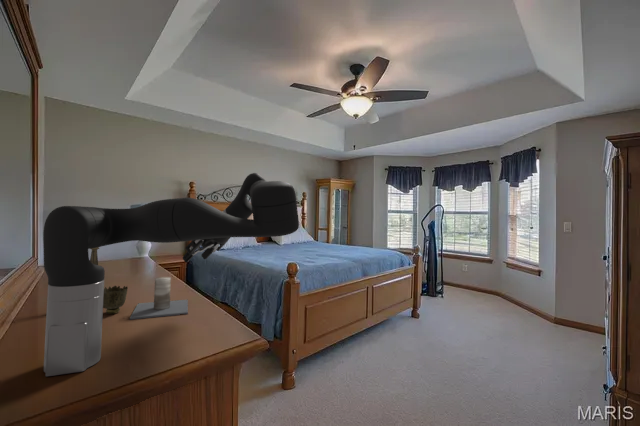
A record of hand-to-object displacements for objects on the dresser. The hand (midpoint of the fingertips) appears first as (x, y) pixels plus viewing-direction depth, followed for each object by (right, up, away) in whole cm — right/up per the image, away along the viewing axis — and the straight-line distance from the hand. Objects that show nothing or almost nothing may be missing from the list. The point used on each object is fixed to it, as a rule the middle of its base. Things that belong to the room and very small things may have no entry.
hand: (194, 258), depth 97 cm
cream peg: (-12, -17, +2) cm, 21 cm away
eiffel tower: (-37, -17, +4) cm, 41 cm away
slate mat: (-12, -18, +3) cm, 22 cm away
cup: (-25, -17, -2) cm, 31 cm away
